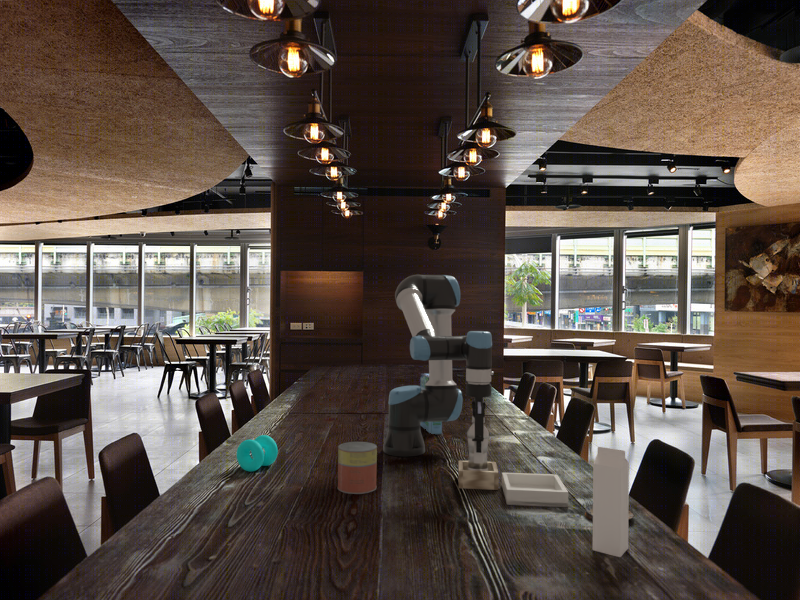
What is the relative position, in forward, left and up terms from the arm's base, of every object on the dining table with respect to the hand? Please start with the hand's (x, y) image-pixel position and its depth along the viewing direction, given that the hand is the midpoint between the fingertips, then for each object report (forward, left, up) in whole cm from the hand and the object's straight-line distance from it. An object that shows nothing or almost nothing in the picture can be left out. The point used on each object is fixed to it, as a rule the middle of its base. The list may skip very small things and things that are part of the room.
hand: (477, 459), depth 172 cm
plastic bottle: (0, 0, -7) cm, 7 cm away
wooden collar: (0, 0, -7) cm, 7 cm away
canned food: (-35, -9, -7) cm, 37 cm away
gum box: (-17, +73, -7) cm, 75 cm away
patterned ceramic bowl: (+32, -24, -7) cm, 41 cm away
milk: (+27, -44, -7) cm, 52 cm away
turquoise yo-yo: (-70, +6, -7) cm, 71 cm away
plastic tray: (+15, -10, -7) cm, 19 cm away
